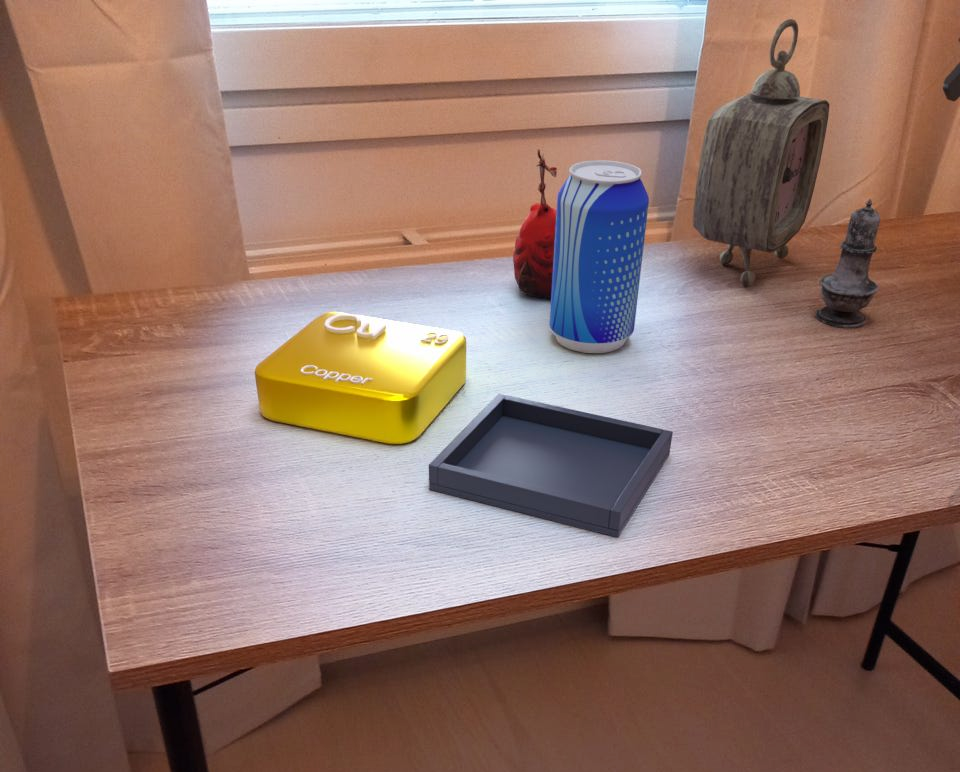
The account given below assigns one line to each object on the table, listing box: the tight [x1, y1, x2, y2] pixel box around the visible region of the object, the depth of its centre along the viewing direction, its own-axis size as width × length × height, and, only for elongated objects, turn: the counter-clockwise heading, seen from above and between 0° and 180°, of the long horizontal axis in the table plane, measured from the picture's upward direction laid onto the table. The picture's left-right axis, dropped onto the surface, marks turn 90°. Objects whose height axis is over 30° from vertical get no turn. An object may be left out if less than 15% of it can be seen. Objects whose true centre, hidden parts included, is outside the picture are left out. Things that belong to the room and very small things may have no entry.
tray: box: [428, 393, 674, 538], centre depth 82 cm, size 16×14×2 cm
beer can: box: [549, 159, 650, 354], centre depth 97 cm, size 8×8×16 cm
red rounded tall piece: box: [512, 149, 558, 299], centre depth 108 cm, size 8×7×15 cm
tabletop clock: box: [692, 18, 830, 287], centre depth 111 cm, size 14×9×25 cm, turn 147°
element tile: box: [254, 311, 467, 445], centre depth 91 cm, size 15×15×5 cm
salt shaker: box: [814, 198, 881, 329], centre depth 104 cm, size 6×6×12 cm
